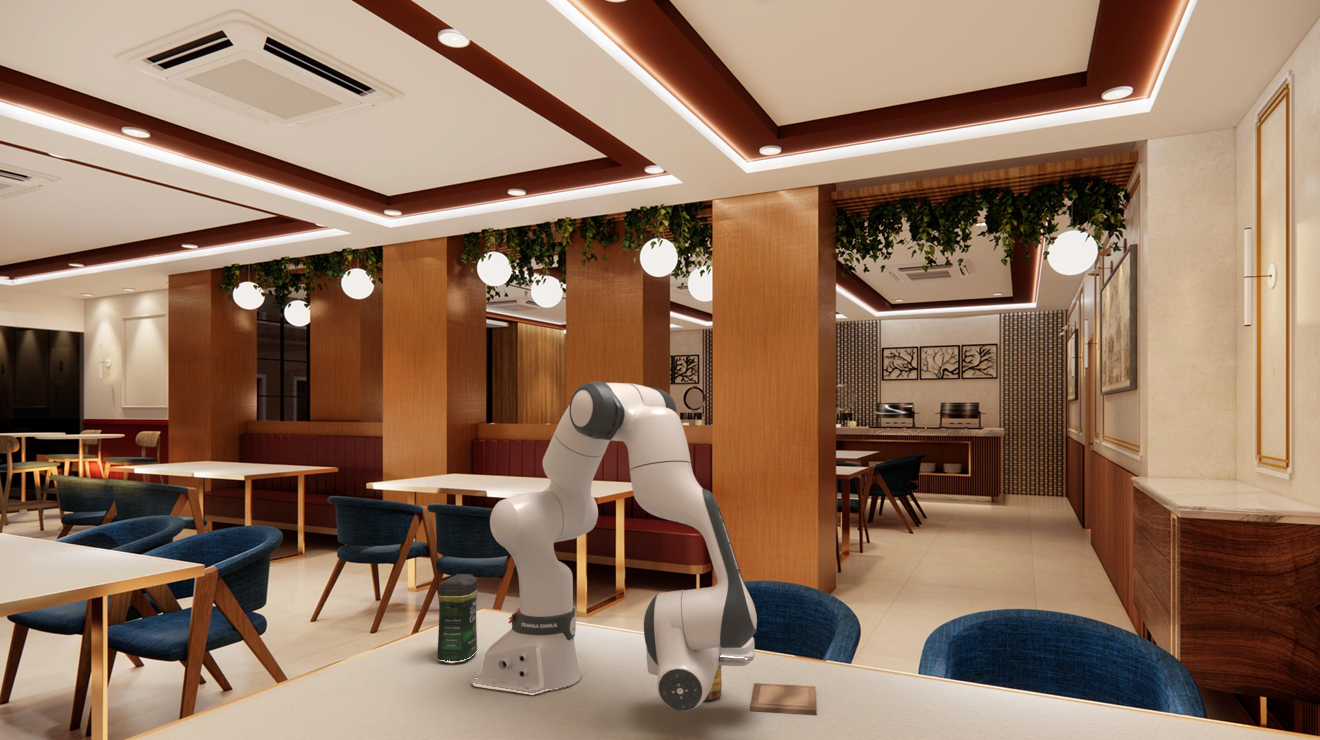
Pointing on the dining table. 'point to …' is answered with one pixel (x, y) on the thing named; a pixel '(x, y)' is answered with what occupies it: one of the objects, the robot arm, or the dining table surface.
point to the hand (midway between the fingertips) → (704, 635)
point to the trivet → (783, 699)
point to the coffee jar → (457, 618)
